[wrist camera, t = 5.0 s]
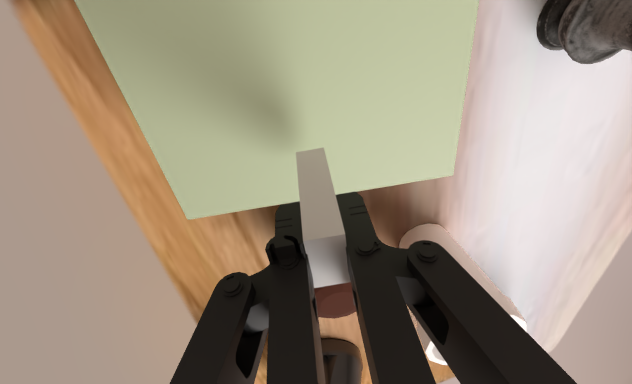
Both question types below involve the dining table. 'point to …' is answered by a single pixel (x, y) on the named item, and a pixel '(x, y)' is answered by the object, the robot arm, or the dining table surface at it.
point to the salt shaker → (586, 28)
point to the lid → (289, 91)
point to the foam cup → (458, 253)
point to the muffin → (335, 300)
